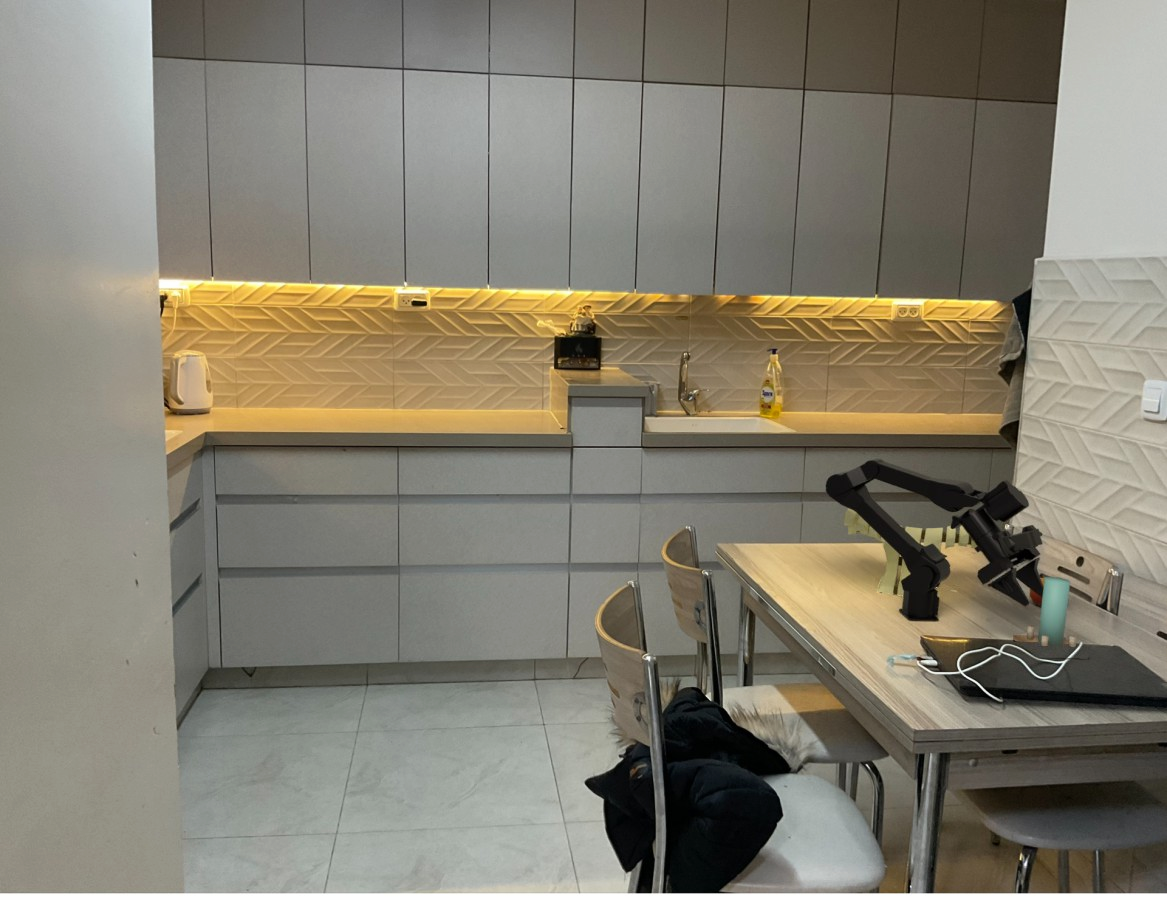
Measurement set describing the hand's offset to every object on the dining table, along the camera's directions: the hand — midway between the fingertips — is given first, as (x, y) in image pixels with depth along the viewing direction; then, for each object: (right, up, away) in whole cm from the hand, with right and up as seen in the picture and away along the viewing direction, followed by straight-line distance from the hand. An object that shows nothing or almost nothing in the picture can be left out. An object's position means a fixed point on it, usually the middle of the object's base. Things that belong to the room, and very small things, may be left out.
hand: (1036, 600), depth 193 cm
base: (+2, -10, -1) cm, 10 cm away
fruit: (+16, -6, +28) cm, 33 cm away
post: (+2, -8, -1) cm, 9 cm away
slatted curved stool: (-13, -3, +39) cm, 41 cm away
